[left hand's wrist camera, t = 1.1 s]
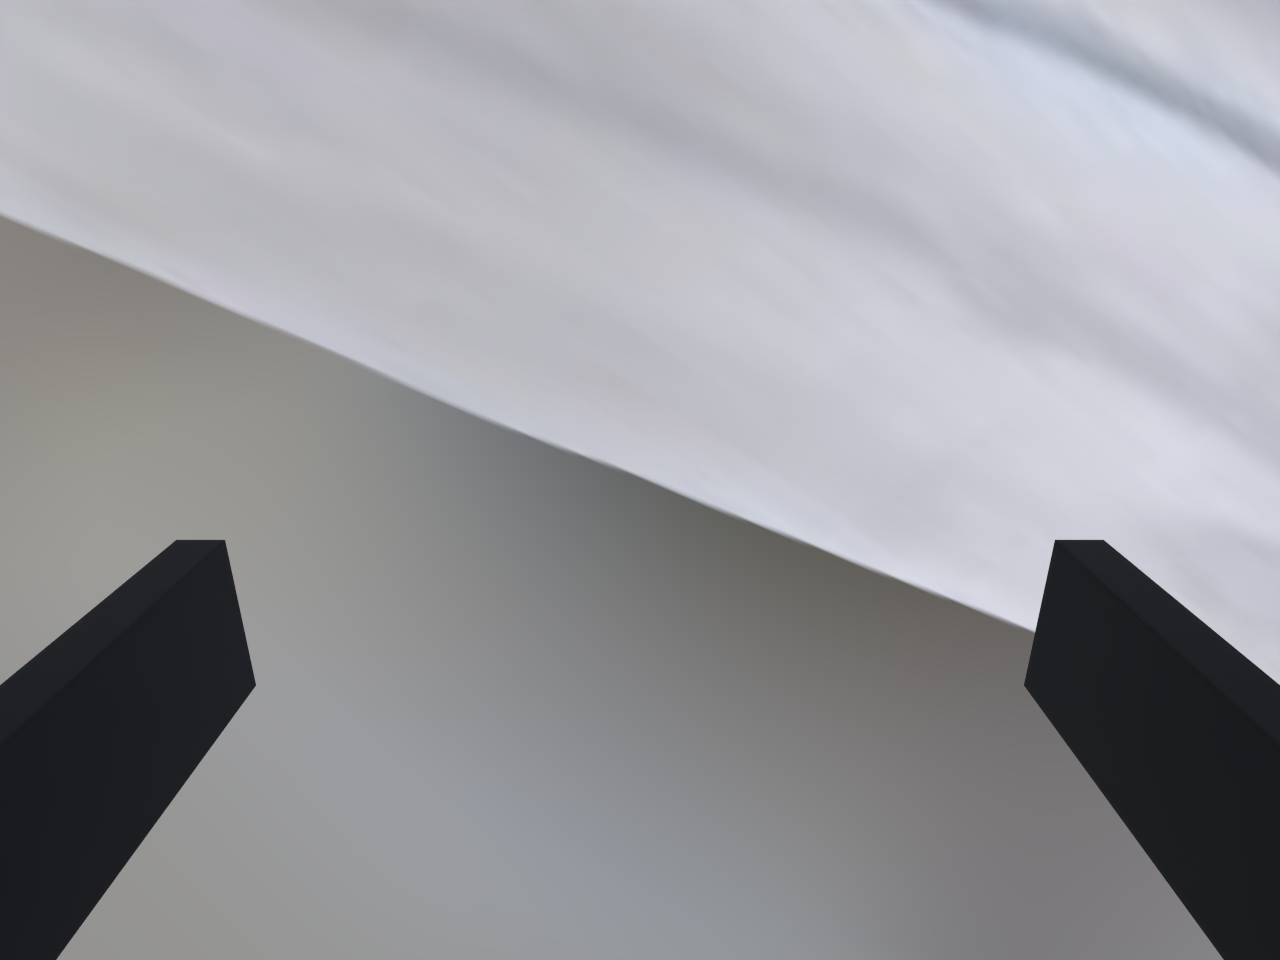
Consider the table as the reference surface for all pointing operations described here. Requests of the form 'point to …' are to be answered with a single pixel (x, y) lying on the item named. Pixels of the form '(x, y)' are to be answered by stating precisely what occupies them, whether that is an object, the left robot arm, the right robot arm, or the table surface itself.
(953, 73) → the table surface
